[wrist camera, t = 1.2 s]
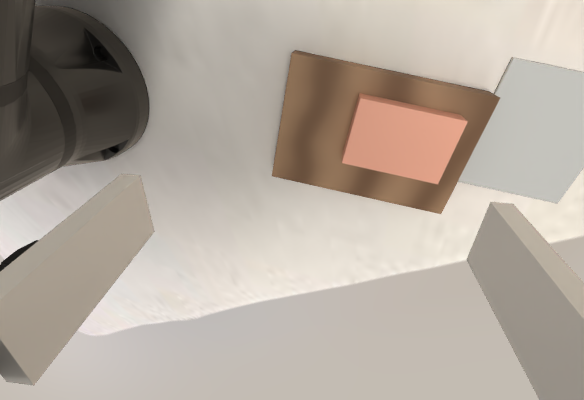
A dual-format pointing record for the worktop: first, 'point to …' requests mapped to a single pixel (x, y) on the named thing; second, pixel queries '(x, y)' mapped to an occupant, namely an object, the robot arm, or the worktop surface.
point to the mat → (532, 133)
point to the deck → (337, 119)
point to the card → (402, 138)
